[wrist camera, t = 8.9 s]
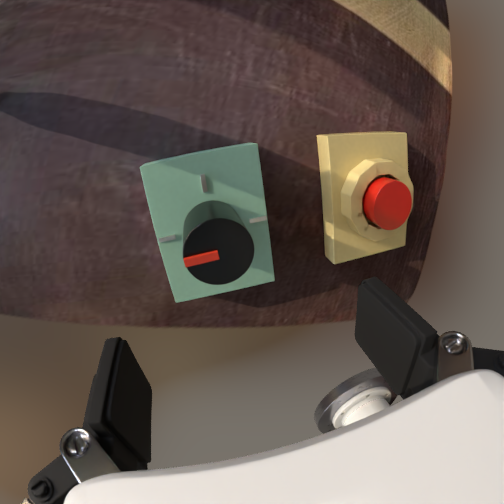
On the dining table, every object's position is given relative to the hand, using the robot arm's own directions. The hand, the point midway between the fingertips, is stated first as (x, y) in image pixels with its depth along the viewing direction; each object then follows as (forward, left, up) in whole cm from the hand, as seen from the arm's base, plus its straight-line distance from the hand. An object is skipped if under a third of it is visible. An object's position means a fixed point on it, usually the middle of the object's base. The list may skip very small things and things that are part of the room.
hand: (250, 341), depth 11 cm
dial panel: (0, 0, -16) cm, 16 cm away
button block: (0, -15, -16) cm, 22 cm away
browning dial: (0, 0, -14) cm, 14 cm away
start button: (0, -15, -12) cm, 19 cm away
